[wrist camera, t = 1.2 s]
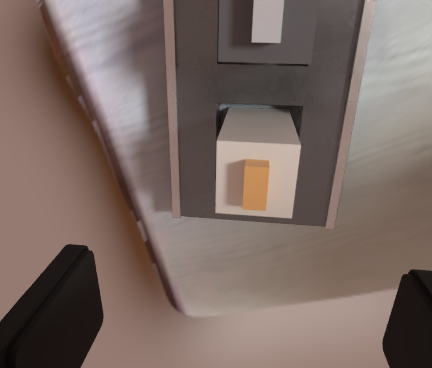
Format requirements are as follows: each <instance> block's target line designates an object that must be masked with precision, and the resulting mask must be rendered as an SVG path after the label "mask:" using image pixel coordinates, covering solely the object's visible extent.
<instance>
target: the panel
mask: <svg viewBox="0 0 432 368" xmlns="http://www.w3.org/2000/svg"><path fill="white" fill-rule="evenodd" d="M375 6H376V0H319V6H318V14H317V22H316V30H315V38H314V46H313V54H312V62H311V64H282V63H246V62H218V38H219V0H163V8H164V31H165V54H166V77H167V101H168V124H169V147H170V170H171V193H172V216H173V218H181V216H186V217H200V218H214V219H228V220H242V221H256V222H269V223H283V224H297V225H311V226H325V229H334V225H335V220H336V214H337V209H338V204H339V198H340V193H341V188H342V182H343V177H344V172H345V166H346V161H347V156H348V150H349V145H350V140H351V134H352V129H353V124H354V118H355V113H356V107H357V102H358V97H359V91H360V86H361V81H362V75H363V70H364V65H365V59H366V54H367V49H368V43H369V38H370V33H371V27H372V22H373V17H374V11H375ZM220 103H242V104H267V105H293V106H299V113H298V122H297V130H296V132H297V135H298V138H299V140H300V143H301V149H300V157H299V165H298V173H297V181H296V189H295V197H294V206H293V214H292V218H279V217H265V216H251V215H237V214H222V213H215V212H216V153H217V139H218V136H219V104H220Z"/></svg>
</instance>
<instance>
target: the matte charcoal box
mask: <svg viewBox="0 0 432 368" xmlns="http://www.w3.org/2000/svg"><path fill="white" fill-rule="evenodd" d="M318 6H319V0H219V38H218V62H246V63H282V64H311V62H312V54H313V46H314V38H315V30H316V22H317V14H318Z"/></svg>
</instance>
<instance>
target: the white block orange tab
mask: <svg viewBox="0 0 432 368" xmlns="http://www.w3.org/2000/svg"><path fill="white" fill-rule="evenodd" d="M300 149H301V143H300V140H299V138H298V135H297V132H296V129H295V126H294V123H293V120H292V117H291V114H290V112H289V109H269V108H244V107H229V109H228V112H227V114H226V117H225V120H224V122H223V125H222V128H221V131H220V133H219V136H218V139H217V153H216V212H215V213H222V214H237V215H251V216H265V217H279V218H292V214H293V206H294V197H295V189H296V181H297V173H298V165H299V157H300Z"/></svg>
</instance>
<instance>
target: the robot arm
mask: <svg viewBox="0 0 432 368" xmlns="http://www.w3.org/2000/svg"><path fill="white" fill-rule="evenodd" d="M102 323H103V309H102V303H101V296H100V290H99V284H98V278H97V272H96V265H95V259H94V254H93V252H92V251H89V250H88V247H87V246H84V245H72V244H69V245H66V246H65V247H64V248H63V249H62V250H61V252H60V253H59V254H58V255H57V256H56V257H55V259H54V260H53V261H52V262H51V263H50V264H49V266H48V267H47V268H46V269H45V271H43V273H42V274H41V275H40V276H39V277H38V278H37V280H36V281H35V282H34V283H33V284H32V285H31V287H30V288H29V289H28V290H27V291H26V292H25V293H24V295H23V296H22V297H21V298H20V299H19V300H18V302H17V303H16V304H15V305H14V306H13V307H12V308H11V310H10V311H9V312H8V313H7V314H6V315H5V317H4V318H3V319H2V320H1V321H0V368H80V367H81V366H82V364H83V362H84V359H85V358H86V356H87V353H88V352H89V350H90V348H91V346H92V344H93V342H94V340H95V338H96V336H97V334H98V332H99V330H100V328H101V326H102ZM383 351H384V354H385V356H386V359H387V361H388V364H389V367H390V368H432V271H427V270H410V271H409V273H408V274H404V275H403V276H402V278H401V282H400V285H399V288H398V291H397V295H396V298H395V301H394V305H393V308H392V311H391V315H390V318H389V321H388V324H387V328H386V331H385V334H384V338H383Z"/></svg>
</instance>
